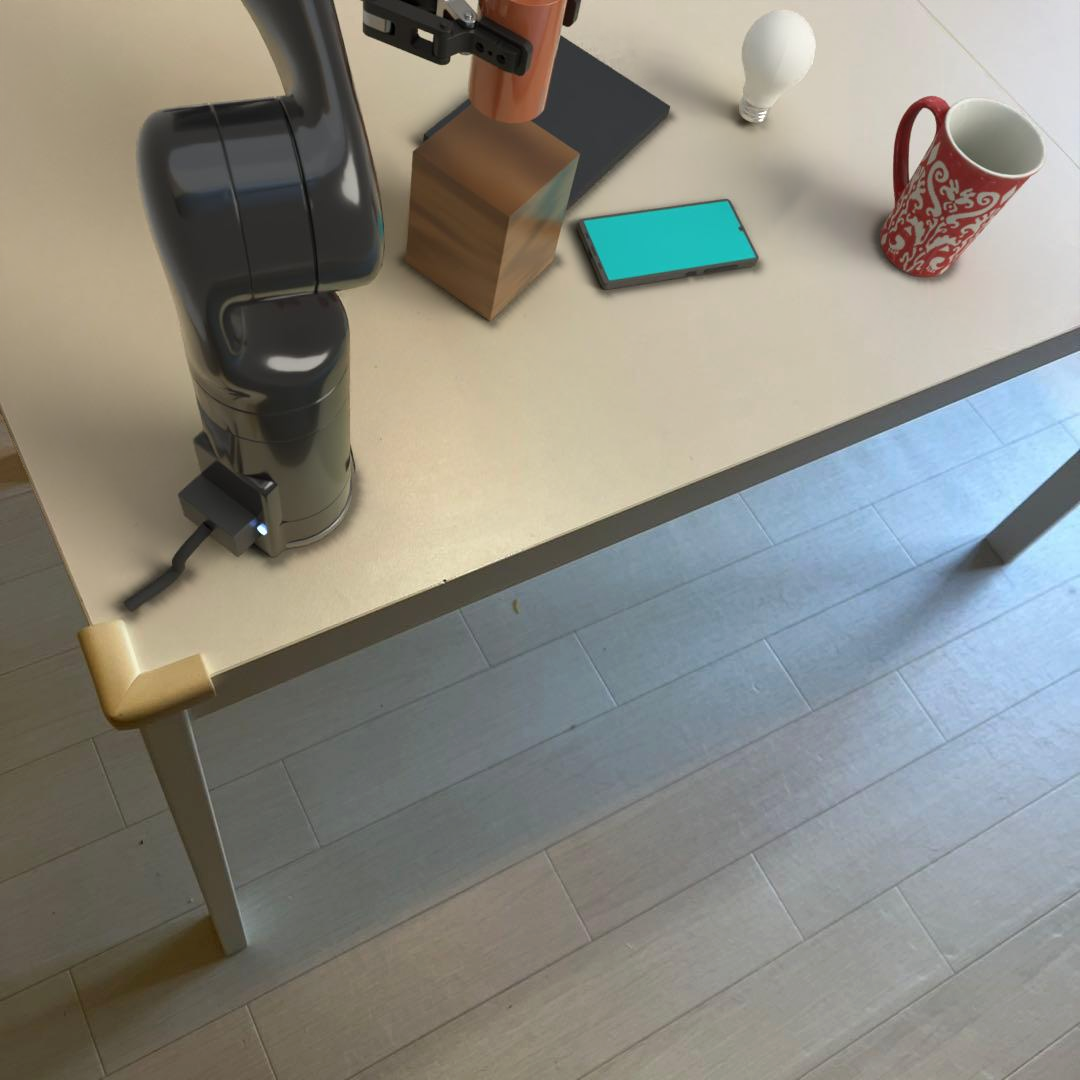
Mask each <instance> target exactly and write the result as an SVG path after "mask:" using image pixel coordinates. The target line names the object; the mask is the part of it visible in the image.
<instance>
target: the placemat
mask: <svg viewBox="0 0 1080 1080" xmlns="http://www.w3.org/2000/svg"><path fill="white" fill-rule="evenodd" d="M471 104H472V103H471V101H470V99H469V98H467V99H466V100H465V101H463V102H462V103H461V104H460V105H458V106H457V107H456V108H454V109H453V110H452V111H450V113H448V114H447V115H445V116H444V117H443V118H442V119H441V120H439V121H438V122H437V123H436V124H434V125H433V126H432V127H430V128H429V129H428V130H427V131H426V132H424V133H423V137H422V138H423V140H422V143H424V142H425V141H426V140H427V139H429V138H430V137H431V136H432V135H434V134H435V133H436V132H437V131H439V130H440V129H441V128H442V127H444V126H445V125H446V124H447V123H449V122H450V121H451V120H452V119H454V118H455V117H456V116H457V115H459V114H460V113H461V112H462V111H464V110H465V109H466V108H467V107H469V106H470V105H471ZM670 110H671V105H670V104H668V103H667V102H665V101H663V100H662V99H660V98H659V97H657V96H655V95H654V94H652V93H651V92H650V91H648V90H647V89H645V88H643V87H641V86H640V85H639V84H637V83H636V82H634V81H632V80H631V79H629V78H628V77H626V76H625V75H623V74H621V73H620V72H619V71H617V70H615V68H613V67H611V66H610V65H608V64H606V63H605V62H603V61H602V60H600V59H598V58H597V57H595V56H594V55H592V54H591V53H589V52H587V51H586V50H584V49H583V48H581V47H580V46H578V45H576V44H575V43H573V42H572V41H571V40H569V39H567V38H566V37H564V36H563V35H560V39H559V44H558V49H557V54H556V59H555V63H554V68H553V73H552V78H551V83H550V88H549V92H548V97H547V102H546V106H545V108H544V110H543V111H542V113H541V114H540V115H539V116H537V117H536V118H534V119H532V120H530V121H532V122H533V123H535V124H536V125H538V126H539V127H541V128H542V129H544V130H545V131H547V132H548V133H550V134H551V135H553V136H554V137H556V138H557V139H559V140H560V141H562V142H563V143H565V144H566V145H568V146H569V147H571V148H572V149H574V150H575V151H577V152H578V153H580V156H579V160H578V164H577V168H576V172H575V176H574V180H573V184H572V187H571V191H570V195H569V199H568V203H567V207H566V211H565V213H566V212H567V211H568V210H569V209H570V208H572V206H573V205H574V204H575V203H577V202H578V200H580V199H581V198H582V197H583V195H586V193H587V192H589V190H590V189H591V188H592V187H594V186H595V185H596V184H597V183H599V181H600V180H601V179H602V178H603V177H604V176H606V174H607V173H608V172H610V170H612V169H613V168H614V167H615V166H616V165H617V164H618V163H619V162H621V160H622V159H624V158H625V156H627V155H628V154H629V153H630V152H631V151H632V150H633V149H634V148H635V147H636V146H637V145H638V144H640V143H641V142H642V140H643V139H645V137H647V136H648V135H649V134H650V133H651V132H652V131H653V130H654V129H655V128H657V126H658V125H660V123H662V122H663V121H664V120H665V119H666V118H667V117H668V115H669V113H670Z"/></svg>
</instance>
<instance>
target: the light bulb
mask: <svg viewBox="0 0 1080 1080" xmlns="http://www.w3.org/2000/svg"><path fill="white" fill-rule="evenodd" d="M816 41H817V40H816V36H815V33H814V30H813V28H812V26H811V24H810V23H809V22H808V20H806V18H805V17H803V15H801V14H799V13H798V12H795V11H792V10H788V9H777V10H772V11H769V12H767V13H764V14H763V15H762V16H760V17H759V18H757V19H756V20H755V21H754V22H753V23H752V24H751V26H750V27H749V29H748V30H747V32H746V34H745V36H744V39H743V41H742V46H741V63H742V66H743V72H744V77H745V81H744V85H743V87H742V96H741V99H740V101H739V104H738V113H739V114H740V116H741V117H742V118H743V119H744V120H745V121H748V122H750V123H754V124H755V123H756V124H758V123H762V122H763V121H765V120H766V119H767V117H768V115H769V112H770V111H771V108H772V106H773V105H774V104H775V103H776V102H777V100H778V99H779V97H780V95H782V94H783V93H784V92H785V91H787V90H788V89H790V88H792V87H793V86H795V85H797V84H798V83H799V82H801V80H803V79H804V77H805V76H806V75H807V74H808V72H809V71H810V69H811V68H812V66H813V63H814V60H815V56H816V51H817V43H816Z"/></svg>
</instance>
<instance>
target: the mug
mask: <svg viewBox="0 0 1080 1080" xmlns="http://www.w3.org/2000/svg"><path fill="white" fill-rule="evenodd" d="M923 109H927V110H929V111H930V112H931V113H932V115H933V116H934V121H935V128H936V129H935V133H934V137H933V140H932V141H931V143H930V145H929V147H928V148H927V150H926V152H925V154H924V155H923V157H922V159H921V161H920V162H919V163H918V166H917V167H916V169H915V171H914V173H913V174H912V176H911V177H910V145H911V144H910V143H911V136H912V130H913V127H914V123H915V121H916V119H917V117H918V115H919V113H920V112H922V110H923ZM1041 133H1042V132H1041V131H1040V130H1039V129H1038V127H1037V126H1036V125H1035V124H1034V123H1033V122H1032V121H1031V120H1030V119H1029V117H1027V116H1026V115H1025V114H1023V113H1022V111H1019V110H1018V109H1016V108H1015V107H1013V106H1011V105H1010V104H1007V103H1005V102H1003V101H1001V100H997V99H993V98H989V97H980V96H979V97H977V96H975V97H967V98H963V99H961V100H958V101H956V102H955V103H953V104H952V105H951V106H950V105H949V104H948V102H947V101H946V100H945V99H943V98H941V97H940V96H936V95H928V96H923V97H921V98H919V99H918V100H916V101H914V102H913V103H911V104H910V105H909V107H908V108H907V109H906V110H905V112H904V114H903V115H902V117H901V119H900V121H899V122H898V125H897V129H896V132H895V137H894V144H893V156H892V185H893V187H892V188H893V197H894V207H893V208H892V210H891V212H890V214H889V215H888V216H887V218H886V219H885V221H884V223H883V225H882V227H881V229H880V233H879V242H880V246H881V249H882V251H883V253H884V254H885V256H886V257H887V259H888V260H889V261H890V262H891V263H892V264H893V265H894V266H895V267H897V268H898V269H900V270H901V271H903V272H905V273H907V274H909V275H913V276H915V277H916V276H917V277H920V278H921V277H922V278H932V277H937V276H940V275H943V274H944V273H946V272H947V271H948V270H949V269H950V267H952V265H953V264H954V263H955V262H956V261H958V259H959V258H960V256H961V255H962V254H963V253H964V252H965V250H967V248H968V247H970V245H971V244H972V243H973V242H974V241H975V240H976V238H977V237H979V235H980V234H981V233H982V232H983V231H984V230H985V228H986V227H987V226H988V225H989V224H990V223H991V221H993V219H994V218H995V217H996V216H997V214H999V213H1000V211H1001V210H1002V209H1003V208H1004V207H1005V206H1006V205H1007V203H1008V202H1009V201H1010V200H1011V199H1012V198H1013V197H1014V196H1015V195H1016V194H1017V192H1018V191H1019V190H1020V189H1021V188H1022V187H1023V185H1025V183H1026V182H1027V181H1028V180H1029V179H1030V178H1031V177H1032V176H1034V175H1035V174H1037V173H1038V172H1039V171H1040V170H1041V169H1042V168H1043V166H1044V164H1045V163H1046V159H1047V145H1046V142H1045V139H1044V137H1043V135H1042V134H1041Z"/></svg>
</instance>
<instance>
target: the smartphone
mask: <svg viewBox="0 0 1080 1080" xmlns="http://www.w3.org/2000/svg"><path fill="white" fill-rule="evenodd" d="M576 230H577V232H578V234H579V237H580V239H581V241H582V244H583V246H584V248H585V251H586V253H587V255H588V258H589V261H590V262H591V265H592V268H593V270H594V272H595V274H596V277H597V279H598V282H599V284H600V286H601V288H602V289H604V290H610V289H611V290H612V289H618V288H624V287H631V286H636V285H642V284H649V283H654V282H661V281H668V280H673V279H680V278H686V277H693V276H699V275H706V274H711V273H712V274H713V273H717V272H724V271H730V270H736V269H737V270H738V269H743V268H750V267H754V266H756V265H757V262H758V261H759V255H758V252H757V251H756V249H755V247H754V244H753V242H752V241H751V239H750V236H749V235H748V233H747V230H746V228H745V226H744V224H743V222H742V221H741V218H740V217H739V214H738V213H737V211H736V209H735V207H734V205H733V203H732V200H730V199H729V198H721V199H714V200H707V201H700V202H693V203H686V204H685V203H684V204H677V205H671V206H663V207H657V208H648V209H641V210H634V211H626V212H621V213H620V212H619V213H612V214H605V215H598V216H592V217H584V218H580V219H578V221H577V225H576Z"/></svg>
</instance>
